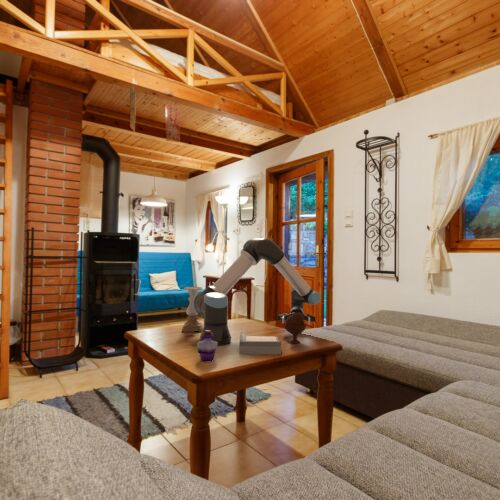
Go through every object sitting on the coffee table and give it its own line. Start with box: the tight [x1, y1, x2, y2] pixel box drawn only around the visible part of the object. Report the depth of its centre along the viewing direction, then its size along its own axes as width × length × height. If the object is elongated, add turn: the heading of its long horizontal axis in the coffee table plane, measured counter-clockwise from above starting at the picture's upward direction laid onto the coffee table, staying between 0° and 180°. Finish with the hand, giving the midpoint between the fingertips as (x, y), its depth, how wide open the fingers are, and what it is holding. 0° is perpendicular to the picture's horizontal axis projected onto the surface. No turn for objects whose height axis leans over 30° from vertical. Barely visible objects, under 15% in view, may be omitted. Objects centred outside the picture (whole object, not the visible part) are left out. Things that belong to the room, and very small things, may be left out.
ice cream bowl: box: [283, 312, 307, 345], centre depth 170 cm, size 11×11×15 cm
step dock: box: [238, 331, 282, 356], centre depth 159 cm, size 18×18×6 cm
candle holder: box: [181, 286, 203, 333], centre depth 195 cm, size 11×11×24 cm
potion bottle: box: [196, 330, 218, 362], centre depth 142 cm, size 9×9×12 cm
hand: (296, 321), depth 179 cm, fingers open, 13 cm apart
